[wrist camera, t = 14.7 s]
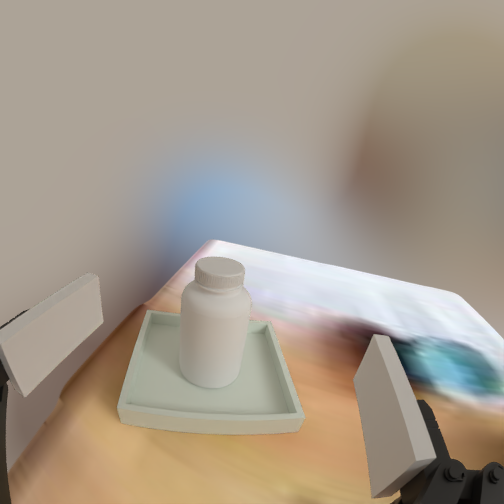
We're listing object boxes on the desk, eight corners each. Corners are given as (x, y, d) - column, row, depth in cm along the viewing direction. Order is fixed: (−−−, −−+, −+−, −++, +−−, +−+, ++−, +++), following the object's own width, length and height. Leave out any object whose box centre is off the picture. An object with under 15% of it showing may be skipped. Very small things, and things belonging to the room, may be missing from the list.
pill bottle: (174, 351, 36) (180, 250, 31) (229, 349, 39) (245, 253, 34) (183, 393, 29) (189, 281, 24) (246, 387, 32) (271, 281, 27)
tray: (267, 335, 45) (271, 321, 45) (297, 431, 27) (305, 417, 26) (147, 324, 42) (147, 309, 41) (121, 423, 23) (116, 407, 22)
